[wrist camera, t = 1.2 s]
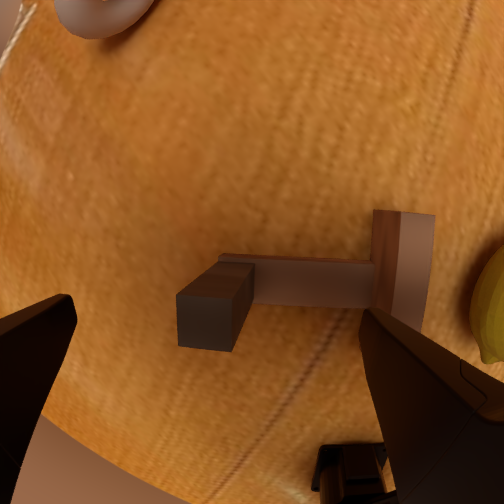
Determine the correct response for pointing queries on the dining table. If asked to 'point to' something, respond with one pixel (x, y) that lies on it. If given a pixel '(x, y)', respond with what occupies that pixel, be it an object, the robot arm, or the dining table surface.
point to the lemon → (489, 309)
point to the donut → (99, 16)
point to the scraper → (312, 283)
